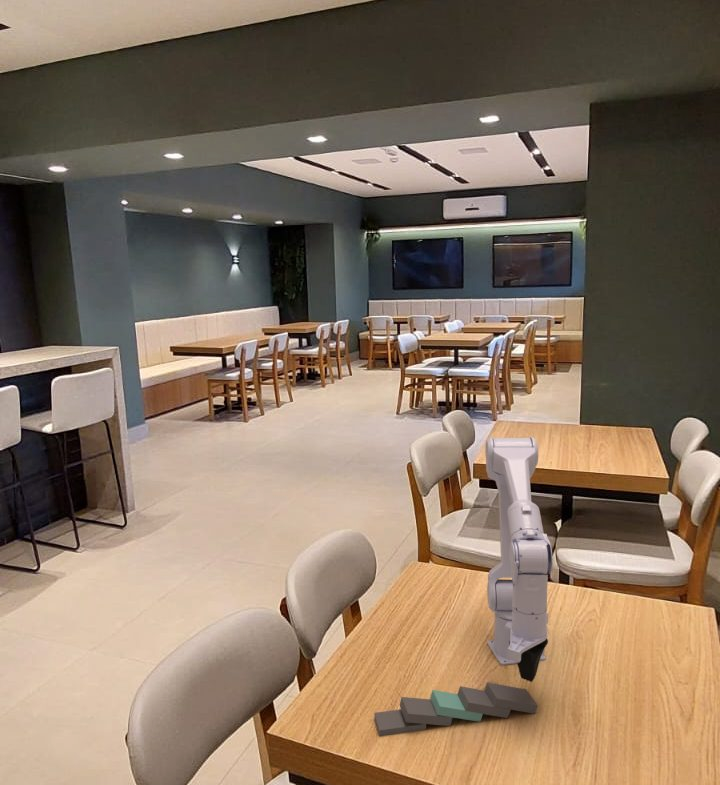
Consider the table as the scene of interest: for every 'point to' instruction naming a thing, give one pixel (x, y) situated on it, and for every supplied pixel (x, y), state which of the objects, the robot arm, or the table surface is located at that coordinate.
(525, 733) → the table surface
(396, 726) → the domino
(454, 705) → the teal domino
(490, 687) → the domino
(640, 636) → the table surface
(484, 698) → the domino
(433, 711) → the domino
